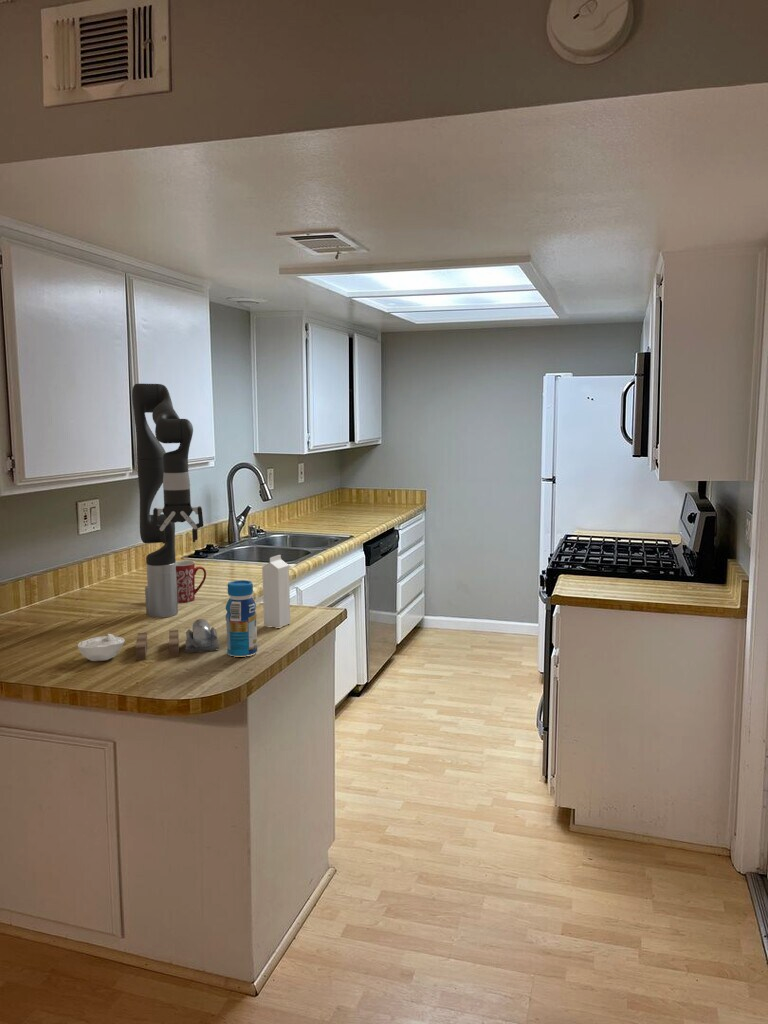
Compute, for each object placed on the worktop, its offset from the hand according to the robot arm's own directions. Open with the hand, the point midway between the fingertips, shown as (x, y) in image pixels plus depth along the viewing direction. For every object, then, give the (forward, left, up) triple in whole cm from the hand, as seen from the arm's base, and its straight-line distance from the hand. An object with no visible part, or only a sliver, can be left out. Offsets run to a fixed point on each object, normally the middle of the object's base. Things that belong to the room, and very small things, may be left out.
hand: (179, 542), depth 224 cm
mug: (-23, +37, -28) cm, 52 cm away
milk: (+22, +18, -28) cm, 40 cm away
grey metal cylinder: (+13, -9, -26) cm, 30 cm away
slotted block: (+2, -15, -28) cm, 32 cm away
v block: (+12, -8, -28) cm, 32 cm away
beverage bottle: (+26, -10, -28) cm, 40 cm away
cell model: (-8, -26, -28) cm, 39 cm away
